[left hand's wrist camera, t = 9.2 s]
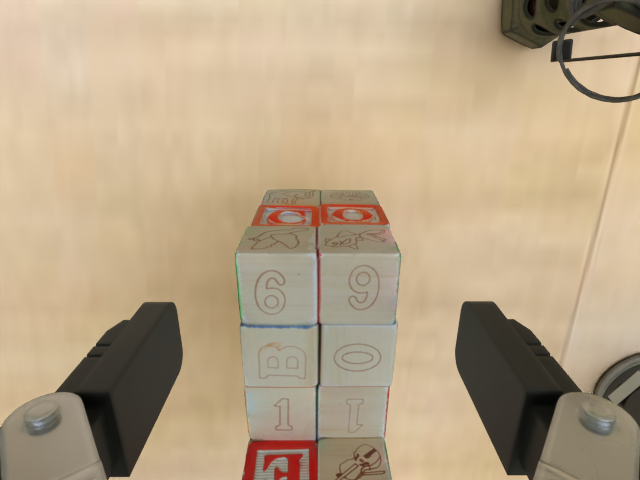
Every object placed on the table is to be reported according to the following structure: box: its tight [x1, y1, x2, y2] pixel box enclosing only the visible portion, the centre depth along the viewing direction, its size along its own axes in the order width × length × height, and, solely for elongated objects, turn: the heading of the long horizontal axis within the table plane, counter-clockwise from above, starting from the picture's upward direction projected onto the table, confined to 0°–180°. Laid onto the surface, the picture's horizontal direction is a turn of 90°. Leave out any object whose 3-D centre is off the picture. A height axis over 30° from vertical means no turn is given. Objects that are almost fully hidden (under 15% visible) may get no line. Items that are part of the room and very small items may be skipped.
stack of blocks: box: [235, 189, 401, 480], centre depth 22 cm, size 21×6×12 cm, turn 179°
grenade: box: [502, 0, 640, 103], centre depth 22 cm, size 9×6×15 cm, turn 7°
